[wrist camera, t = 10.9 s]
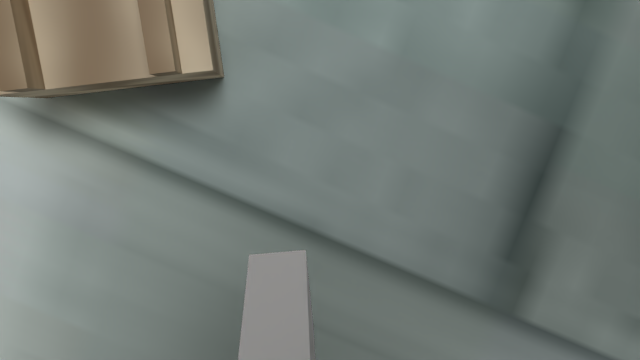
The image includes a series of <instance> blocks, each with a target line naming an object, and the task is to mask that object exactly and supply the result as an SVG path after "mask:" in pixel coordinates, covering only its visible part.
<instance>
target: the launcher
mask: <svg viewBox="0 0 640 360" xmlns="http://www.w3.org/2000/svg"><path fill="white" fill-rule="evenodd" d="M222 77H224V72H223V66H222V59H221V52H220V45H219V38H218V31H217V24H216V17H215V10H214V4H213V0H0V96H1V97H33V98H50V97H59V96H67V95H76V94H84V93H93V92H102V91H110V90H119V89H127V88H136V87H144V86H153V85H162V84H170V83H179V82H187V81H196V80H204V79H213V78H222Z"/></svg>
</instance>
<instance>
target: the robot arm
mask: <svg viewBox="0 0 640 360" xmlns="http://www.w3.org/2000/svg"><path fill="white" fill-rule="evenodd" d="M238 360H315V342H314V324H313V314H312V305H311V295H310V286H309V276H308V267H307V258H306V250H298V251H287V252H275V253H264V254H252V255H249V262H248V271H247V280H246V290H245V299H244V308H243V317H242V326H241V336H240V345H239V354H238Z"/></svg>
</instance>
